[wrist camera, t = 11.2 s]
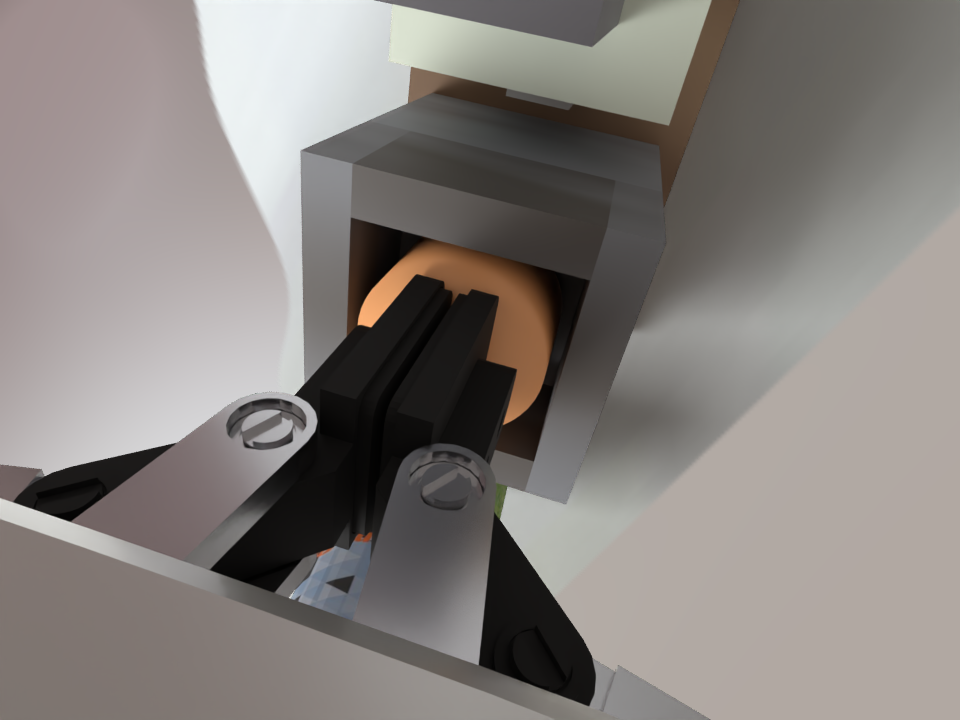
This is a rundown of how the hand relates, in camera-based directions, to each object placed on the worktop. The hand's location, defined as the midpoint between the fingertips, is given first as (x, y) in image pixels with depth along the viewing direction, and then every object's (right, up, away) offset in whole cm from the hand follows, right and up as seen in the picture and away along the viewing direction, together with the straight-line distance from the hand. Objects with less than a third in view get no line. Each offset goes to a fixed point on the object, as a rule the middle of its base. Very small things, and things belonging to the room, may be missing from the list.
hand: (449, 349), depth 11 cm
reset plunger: (+1, +1, +2) cm, 3 cm away
